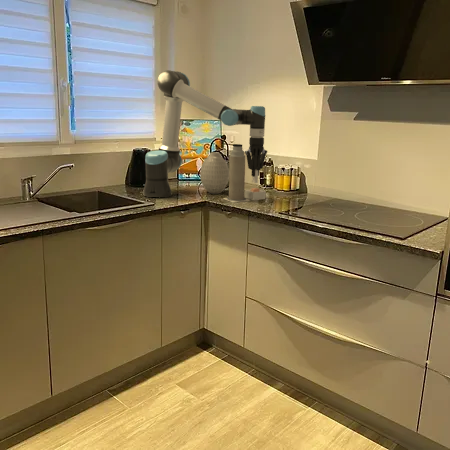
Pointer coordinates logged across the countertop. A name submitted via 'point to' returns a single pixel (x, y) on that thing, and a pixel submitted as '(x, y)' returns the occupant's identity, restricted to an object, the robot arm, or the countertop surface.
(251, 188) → the brown egg
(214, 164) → the vase
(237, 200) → the beige square plate
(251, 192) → the housing
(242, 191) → the thermos bottle
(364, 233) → the countertop surface
